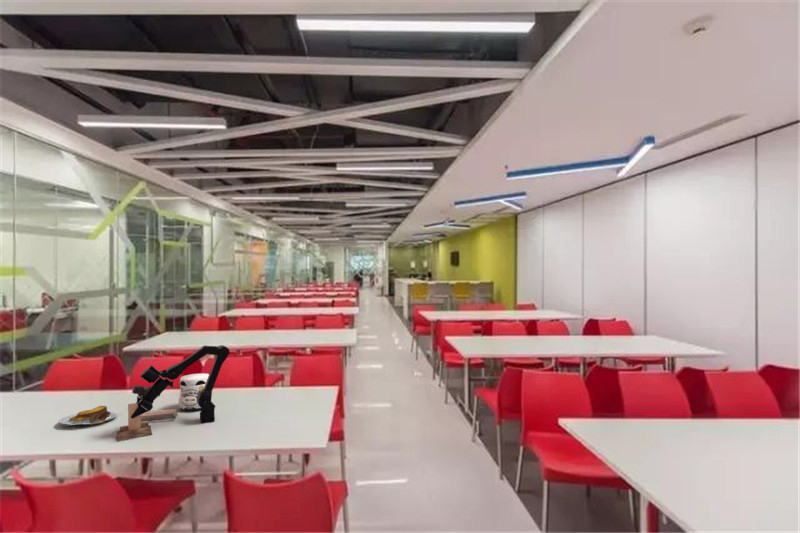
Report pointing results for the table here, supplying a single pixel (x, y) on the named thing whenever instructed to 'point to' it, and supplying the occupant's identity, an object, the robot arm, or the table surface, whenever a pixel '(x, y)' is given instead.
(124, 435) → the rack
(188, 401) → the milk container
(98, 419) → the food on plate
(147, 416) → the packaged product
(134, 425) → the clay bar
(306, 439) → the table surface
